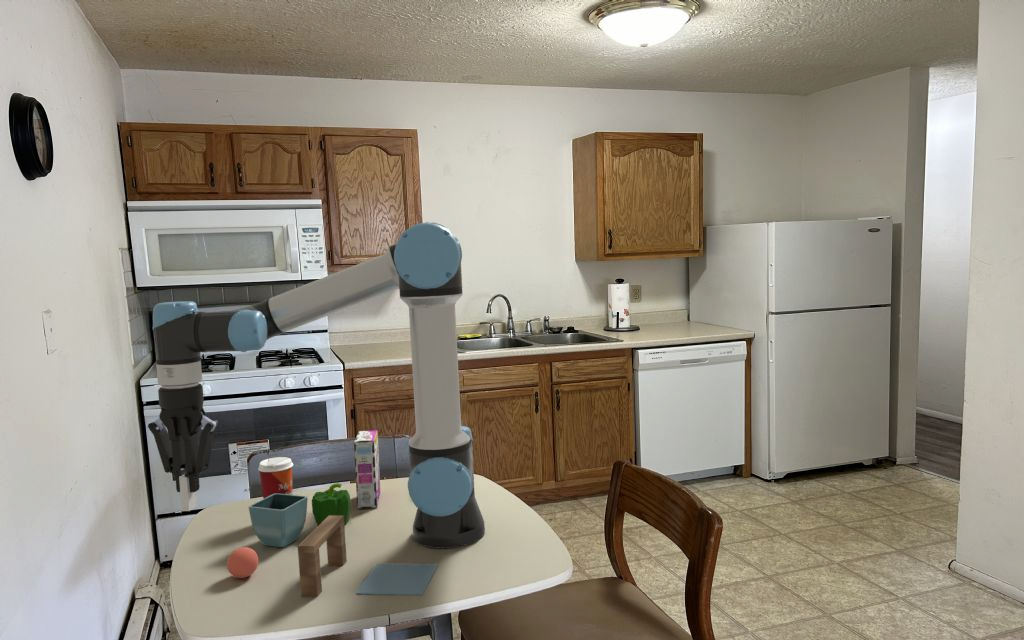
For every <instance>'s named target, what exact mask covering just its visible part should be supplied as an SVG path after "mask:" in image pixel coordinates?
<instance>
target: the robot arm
mask: <svg viewBox="0 0 1024 640" xmlns="http://www.w3.org/2000/svg"><path fill="white" fill-rule="evenodd" d="M462 259H463V251H462V247H461V244H460V241H459V240H458V238H457V236H456V234H454V233H453V232H452V231H451V229H449V228H448V227H446V226H444V225H442V224H440V223H437V222H429V221H426V222H421V223H417V224H414V225H412V226H410V227H409V228H407V229H406V230H405V231H403V233H402V234H401V235H400V237H399V238H398V239H397V243H395V244H392V245H390V246H388V247H387V249H386V251H385V253H383V254H381V255H377V256H376V257H373V258H371V259H367V260H366V261H363V262H360V263H358V264H356V265H352V266H349V267H347V268H344V269H342V270H339V271H338V272H334V273H332V274H330V275H326V276H324V277H322V278H321V277H320V278H319V279H317V280H313V281H311V282H308V283H306V284H304V285H300V286H298V287H296V288H294V289H293V288H292V289H291V290H287V291H285V292H282V293H280V294H278V295H274V296H272V297H270V298H268V299H264V300H262V301H259V302H256V303H254V304H251V305H249V306H246V307H241V308H238V309H237V308H236V309H232V310H223V311H222V310H221V311H219V310H218V311H199V308H198V304H197V303H196V302H195V301H167V302H165V301H164V302H160V303H157V304H155V305H154V306H153V307H152V308H153V309H152V327H151V328H152V331H153V338H154V352H155V363H156V364H155V365H156V366H155V368H156V376H157V377H156V378H157V385H158V386H161V387H159V389H158V390H157V392H158V395H157V396H158V405H159V407H160V412H159V417H158V418H157V419H156V420H154V421H152V422H150V423H148V425H147V428H148V429H149V431H150V432H151V434H152V435H153V437H154V441H155V445H156V447H157V451H158V454H159V457H160V461H161V464H162V467H163V470H164V472H165V473H167V474H168V473H170V474H172V475H174V478H175V488H176V492H177V493H180V507H181V512H191V510H193V509H195V508H196V507H198V497H197V491H199V490H200V487H201V486H200V474H201V473H202V472H204V471H206V470H207V469H208V468H209V465H210V460H211V455H212V454H211V453H212V449H213V448H212V447H213V441H214V435H215V432H216V429H217V428H218V426H219V421H218V420H216V419H214V420H212V419H210V417H207V413H206V411H205V409H204V401H205V400H204V399H205V398H204V387H203V385H202V384H201V382H202V381H203V372H202V371H203V370H202V359H201V353H213V352H214V353H215V352H219V353H220V352H241V353H246V352H250V351H259V350H262V349H263V348H264V347H265V345H266V343H267V341H268V340H270V339H272V338H274V337H277V336H279V335H282V334H285V333H287V332H290V331H292V330H294V329H298V328H299V327H302V326H305V325H308V324H310V323H313V322H315V321H318V320H320V319H323V318H326V317H329V316H331V315H333V314H336V313H338V312H341V311H344V310H347V309H349V308H351V307H355V306H356V305H357V306H358V305H359V304H362V303H365V302H367V301H370V300H372V299H375V298H377V297H380V296H383V295H386V294H388V293H391V292H393V291H396V290H398V291H399V298H400V300H402V302H403V303H405V304H406V306H408V317H409V332H410V349H411V350H410V351H411V367H412V384H413V385H412V386H413V400H414V401H413V402H414V416H415V417H414V418H415V433H414V435H413V436H412V437H411V438H410V439H409V441H408V455H409V456H408V457H409V477H408V480H407V491H408V495H409V497H410V500H411V502H412V503H413V504H414V506H415V507H416V508H417V509H416V513H415V516H414V520H413V524H412V537H413V541H414V542H416V543H417V544H419V545H421V546H423V547H428V548H434V549H435V548H437V549H451V548H457V547H463V546H468V545H469V544H472V543H475V542H477V541H479V540H480V539H481V538H482V537H483V536H484V535H485V532H486V530H485V519H484V517H483V514H482V512H481V509H480V507H479V503H478V501H477V499H476V495H475V494H476V493H475V476H474V475H475V474H474V471H475V470H474V455H473V454H474V453H473V450H474V449H473V441H474V438H473V436H472V435H473V434H472V430H471V428H470V427H468V426H466V425H465V426H464V425H462V415H461V413H462V412H461V395H460V393H461V392H460V375H459V373H460V372H459V356H458V338H457V336H458V335H457V321H456V319H457V317H456V315H457V314H456V303H457V302H458V301H459V299H461V298H462V296H463V276H462ZM199 429H201V430H202V431H201V434H200V433H199ZM199 434H200V439H198V437H199Z"/></svg>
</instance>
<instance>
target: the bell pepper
mask: <svg viewBox="0 0 1024 640" xmlns="http://www.w3.org/2000/svg"><path fill="white" fill-rule="evenodd" d="M342 485H343V484H342V483H339V482H337V483H332V484H331V485H330V486H329V488H328V489H327V490H325V491H317V492H315V493H314V494H313V496H312V499H311V510H312V511H311V512H312V513H313V514H312V515H313V517H314V521H315V524H316V527H318V526H319V525H320V524H321V523H322V522H323V521H324V520H325V519H326V518H327V517H328V516H344V527H345V526H346V525H347V524H348V522H349V518H350V515H351V508H352V506H351V505H352V503H351V496H350V493H349V491H348V490H347V489H340V488H342ZM337 488H339V489H340V490H336V489H337Z"/></svg>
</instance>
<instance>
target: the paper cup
mask: <svg viewBox="0 0 1024 640" xmlns="http://www.w3.org/2000/svg"><path fill="white" fill-rule="evenodd" d="M293 466H294V463H293V462H292V458H290V457H286V456H285V457H284V456H278V457H277V456H276V457H270V458H266V459H263V460H261V461H260V462H259V466H258V468H257V471H259V476H260V483H261V484H260V485H261V490H262V498H263V499H264V498H266V497H268V496H270V495H272V494H275V493H278V494H289V495H293Z"/></svg>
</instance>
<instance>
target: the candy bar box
mask: <svg viewBox="0 0 1024 640" xmlns="http://www.w3.org/2000/svg"><path fill="white" fill-rule="evenodd" d="M353 446H354V447H353V451H354V467H355V469H354V470H355V488H356V503H357V504H356V509H357V510H366V509H376V508H378V505H379V499H380V496H381V476H380V459H379V458H380V454H379V453H380V452H379V433H378V430H377V429H376V430H360V431H359V430H358V433H357V434H356V437H355V439H354V441H353Z"/></svg>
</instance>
